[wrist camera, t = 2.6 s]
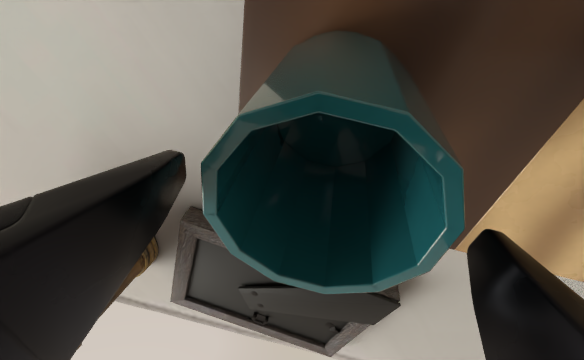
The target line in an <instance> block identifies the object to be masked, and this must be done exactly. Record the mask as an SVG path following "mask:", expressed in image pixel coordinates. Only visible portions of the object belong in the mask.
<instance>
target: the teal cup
mask: <svg viewBox="0 0 584 360" xmlns="http://www.w3.org/2000/svg"><path fill="white" fill-rule="evenodd" d="M201 179H202V204H203V215H204V216H205V218H206V219H207V220H208V222H209V223H210V225H211V226H212V228H213V229H214V231H215V232H216V233H217V235H218V236H219V238H220V239H221V241H222V242H223V244H224V245H225V246H226V248H227V249H228V251H229V252H230V254H232V255H233V256H235V257H237V258H238V259H240V260H241V261H243V262H244V263H246V264H248V265H249V266H251V267H252V268H254V269H255V270H257V271H259V272H260V273H262V274H263V275H265V276H266V277H268V278H270V279H271V280H273V281H275V282H279V283H283V284H287V285H291V286H295V287H298V288H302V289H306V290H310V291H314V292H318V293H322V294H344V293H368V292H380V291H383V290H385V289H388V288H390V287H393V286H395V285H398V284H400V283H402V282H405V281H407V280H410V279H412V278H415V277H417V276H420V275H422V274H424V273H427V272H429V271H431V269H432V268H433V267H434V266H435V265H436V263H437V262H438V261H439V260H440V259H441V257H442V256H443V255H444V254H445V253H446V251H447V250H448V249H449V248H450V247H451V245H452V244H453V243H454V242H455V241H456V239H457V238H458V237H459V236H460V235H461V233H462V232H463V231H464V229H465V201H464V169H463V167H462V165H461V163H460V162H459V160H458V158H457V156H456V154H455V153H454V151H453V149H452V147H451V146H450V144H449V142H448V140H447V138H446V137H445V135H444V133H443V131H442V130H441V128H440V126H439V124H438V123H437V121H436V119H435V117H434V115H433V114H432V112H431V110H430V108H429V107H428V105H427V103H426V101H425V99H424V98H423V96H422V94H421V92H420V91H419V89H418V87H417V85H416V83H415V82H414V80H413V78H412V76H411V75H410V73H409V71H408V70H407V69H406V68H405V67H404V66H403V65H402V64H401V63H400V61H399V60H398V59H397V57H396V56H395V55H394V53H393V52H391V51H390V50H389V49H388V48H387V47H386V46H385V45H384V44H383V43H382V42H381V41H380V40H376V39H373V38H371V37H369V36H367V35H363V34H360V33H356V32H349V31H337V30H336V31H332V32H327V33H323V34H320V35H316V36H314V37H312V38H309V39H307V40H305V41H304V42H302V43H300V44H297V45H294V46H293V47H292V48H291V50H290V51H289V52H288V53H287V55H286V56H285V57H284V58H283V60H282V61H281V62H280V63H279V65H278V66H277V67H276V68H275V70H274V71H273V72H272V73H271V75H270V76H269V77H268V78H267V80H266V81H265V82H264V83H263V85H262V86H261V87H260V88H259V90H258V91H257V92H256V93H255V95H254V96H253V97H252V98H251V100H250V101H249V102H248V103H247V104H246V106H245V107H244V108H243V109H242V111H241V112H240V113H239V114H238V116H237V117H236V118H235V120H234V121H233V122H232V123H231V125H230V126H229V127H228V129H227V130H226V131H225V132H224V134H223V135H222V136H221V138H220V139H219V140H218V141H217V143H216V144H215V145H214V147H213V148H212V149H211V150H210V152H209V153H208V154H207V156H206V157H205V158H204V159H203V161H202V162H201Z"/></svg>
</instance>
